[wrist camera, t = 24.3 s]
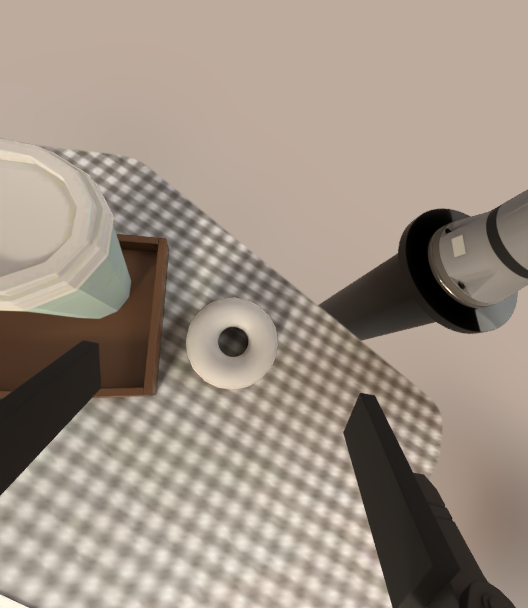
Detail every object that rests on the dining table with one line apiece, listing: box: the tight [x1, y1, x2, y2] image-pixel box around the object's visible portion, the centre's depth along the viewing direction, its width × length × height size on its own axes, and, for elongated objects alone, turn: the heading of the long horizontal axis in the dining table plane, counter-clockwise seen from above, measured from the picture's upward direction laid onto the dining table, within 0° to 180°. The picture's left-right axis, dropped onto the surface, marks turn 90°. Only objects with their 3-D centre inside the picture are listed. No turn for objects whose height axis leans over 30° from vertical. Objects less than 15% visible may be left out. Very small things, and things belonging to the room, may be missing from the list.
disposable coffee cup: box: [0, 138, 131, 319], centre depth 21 cm, size 11×11×15 cm
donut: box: [186, 297, 278, 390], centre depth 29 cm, size 10×3×10 cm
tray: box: [0, 234, 169, 399], centre depth 26 cm, size 19×17×3 cm
